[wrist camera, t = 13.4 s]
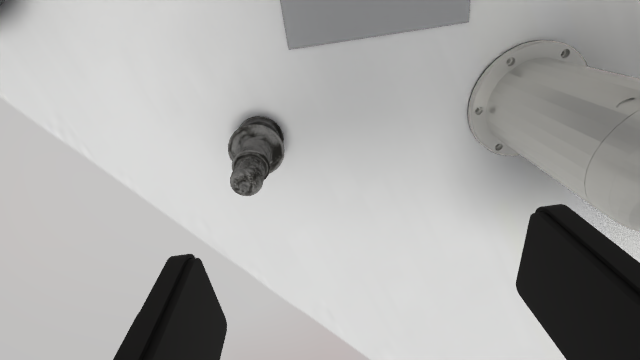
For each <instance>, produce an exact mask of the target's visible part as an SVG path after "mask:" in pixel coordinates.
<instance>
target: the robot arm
mask: <svg viewBox="0 0 640 360" xmlns="http://www.w3.org/2000/svg"><path fill="white" fill-rule="evenodd" d="M507 60H508V62H507ZM506 62H507V63H506ZM476 109H477V110H476ZM468 120H469V125H470V128H471V131H472V133H473V135H474V137H475V138H476V139H477V140H478V141H479V142H480V143H481V145H483V146H484V147H485V148H487V149H488V150H490V151H492V152H494V153H496V154H501V155H505V156H518V155H521V156H523V157H524V158H525V159H527V160H528V161H530V162H531V163H532V164H534V165H535V166H537V167H538V168H539V169H541V170H542V171H544V172H545V173H546V174H548V175H549V176H551V177H552V178H553V179H555V180H556V181H558V182H559V183H560V184H562V185H563V186H565V187H566V188H567V189H569V190H570V191H572V192H573V193H574V194H576V195H577V196H579V197H580V198H581V199H583V200H584V201H586V202H587V203H588V204H590V205H591V206H593V207H594V208H595V209H597V210H599V211H600V212H601V213H603V214H604V215H606V216H607V217H609V218H610V219H612V220H613V221H615V222H617V223H618V224H620V225H623V226H625V227H627V228H629V229H632V230H635V231H638V232H640V79H639V78H635V77H630V76H626V75H622V74H617V73H613V72H609V71H604V70H600V69H596V68H591V67H587V64H586V61H585V60H584V58H583V57H582V55H581V54H580V53H579V52H578V51H577V50H576V49H574V48H573V47H571V46H569V45H567V44H565V43H561V42H556V41H548V40H539V41H532V42H528V43H525V44H522V45H519V46H517V47H515V48H513V49H511V50H509V51H507V52H506V53H504V54H503V55H502V56H500V57H499V58H498V59H496V60H495V61H494V62H493V63H492V64H491V65H490V66H489V67H488V68H487V69H486V70H485V72H484V73H483V75H482V76H481V77H480V79H479V80H478V82H477V84H476V86H475V88H474V90H473V92H472V95H471V98H470V101H469V109H468ZM516 287H517V291H518V293H519V295H520V296H521V298H522V299H523V300H524V302H525V303H526V305H527V306H528V307H529V309H530V310H531V311H532V313H533V314H534V316H535V317H536V318H537V320H538V321H539V322H540V324H541V325H542V327H543V328H544V329H545V331H546V332H547V333H548V335H549V336H550V337H551V339H552V340H553V342H554V343H555V344H556V346H557V347H558V348H559V350H560V351H561V353H562V354H563V355H564V357H565V358H566V359H567V360H640V263H639V262H638V261H637V260H635V259H634V258H633V257H631V256H630V255H629V254H628V253H626V252H625V251H624V250H622V249H621V248H620V247H619V246H617V245H616V244H615V243H614V242H612V241H611V240H610V239H608V238H607V237H606V236H605V235H603V234H602V233H601V232H599V231H598V230H597V229H596V228H594V227H593V226H592V225H590V224H589V223H588V222H587V221H585V220H584V219H583V218H582V217H580V216H579V215H578V214H576V213H575V212H574V211H573V210H571V209H570V208H569V207H567V206H566V205H562V204H559V205H551V206H544V207H539V208H538V209H537V210H536V212H535V213H533V214H532V215H531V217H530V220H529V225H528V229H527V234H526V239H525V243H524V248H523V252H522V257H521V262H520V266H519V271H518V275H517V280H516ZM226 331H227V322H226V318H225V316H224V313H223V311H222V309H221V306H220V304H219V302H218V299H217V297H216V295H215V292H214V290H213V287H212V285H211V283H210V280H209V278H208V275H207V273H206V271H205V268H204V266H203V264H202V261H201V260H200V259H199V258H195V257H194V256H193V255H192V254H186V255H179V256H171V257H170V258H169V259H168V260H167V262H166V264H165V266H164V268H163V269H162V271H161V273H160V275H159V277H158V279H157V281H156V283H155V285H154V286H153V288H152V290H151V292H150V294H149V296H148V298H147V299H146V301H145V303H144V305H143V307H142V309H141V311H140V312H139V314H138V315H137V317H136V318H135V320H134V322H133V324H132V326H131V327H130V329H129V331H128V333H127V335H126V337H125V339H124V341H123V342H122V344H121V346H120V348H119V350H118V352H117V354H116V355H115V357H114V359H113V360H220V356H221V352H222V348H223V344H224V340H225V335H226Z"/></svg>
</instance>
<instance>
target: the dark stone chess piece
mask: <svg viewBox="0 0 640 360" xmlns="http://www.w3.org/2000/svg"><path fill="white" fill-rule="evenodd" d="M228 152H229V156H230V158H231V160H232V170H233V172H232V175H231V177H230V184H231V187H232V189H233V190H234V191H235V192H236V193H238V194H240V195H243V196H251V195H254V194H256V193H257V192H258V191H259V190H260V189H261V187H262V185H263V180H264V179H266V177H267V176H268V174H269V173H272V172H273V171H274V170H276V169H277V168H278V167H279V166H280V164H281V163H282V160H283V158H284V146H283V133H282V131H281V129H280V127H279V126H278V125H277V124H276V123H275V122H274V121H272V120H271V119H268V118H266V117H252V118H249V119H247V120H246V121H244V122H243V123H242V124H241V126H240V127H239V129H238V130H237V131H235V132H234V134H233V135H232V136H231V138H230V141H229V144H228Z"/></svg>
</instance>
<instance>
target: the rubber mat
mask: <svg viewBox="0 0 640 360" xmlns="http://www.w3.org/2000/svg"><path fill="white" fill-rule="evenodd" d="M280 2H281V8H282V14H283V19H284V25H285V31H286V37H287V43H288V48H289V50H291V49H297V48H304V47H310V46H317V45H324V44H330V43H337V42H343V41H350V40H356V39H363V38H369V37H376V36H382V35H389V34H395V33H402V32H408V31H415V30H421V29H428V28H434V27H441V26H447V25H454V24H460V23H467V22H469V11H470V0H280Z"/></svg>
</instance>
